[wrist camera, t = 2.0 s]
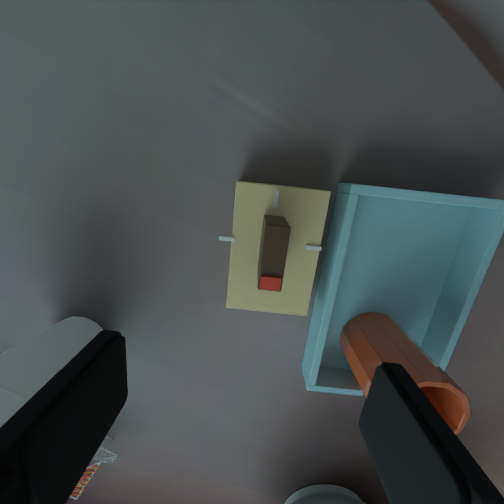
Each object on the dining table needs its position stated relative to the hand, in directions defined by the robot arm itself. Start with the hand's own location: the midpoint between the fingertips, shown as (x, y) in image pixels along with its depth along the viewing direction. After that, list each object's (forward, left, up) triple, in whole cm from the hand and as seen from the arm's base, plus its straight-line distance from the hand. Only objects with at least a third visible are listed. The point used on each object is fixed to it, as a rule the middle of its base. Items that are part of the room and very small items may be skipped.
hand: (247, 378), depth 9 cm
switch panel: (-1, +2, -17) cm, 17 cm away
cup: (+9, +14, -17) cm, 23 cm away
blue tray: (+3, +14, -17) cm, 22 cm away
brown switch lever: (-2, +1, -14) cm, 14 cm away
